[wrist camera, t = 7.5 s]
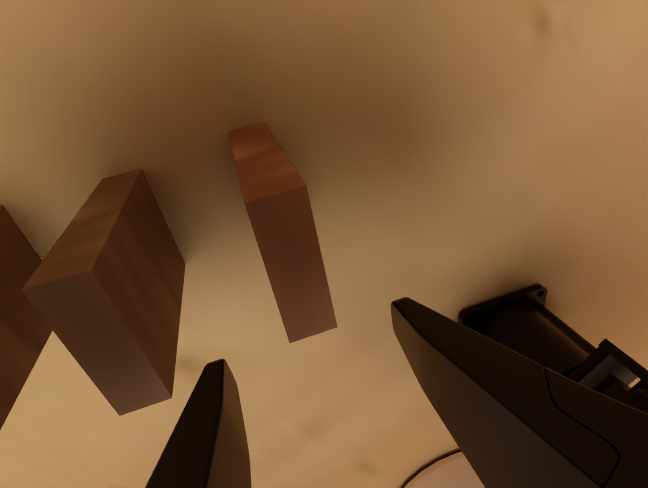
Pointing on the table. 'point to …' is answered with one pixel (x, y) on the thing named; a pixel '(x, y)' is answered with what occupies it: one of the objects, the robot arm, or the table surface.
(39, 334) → the domino
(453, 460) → the white lidded jar
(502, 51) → the table surface
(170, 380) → the domino
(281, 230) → the domino
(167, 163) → the table surface
